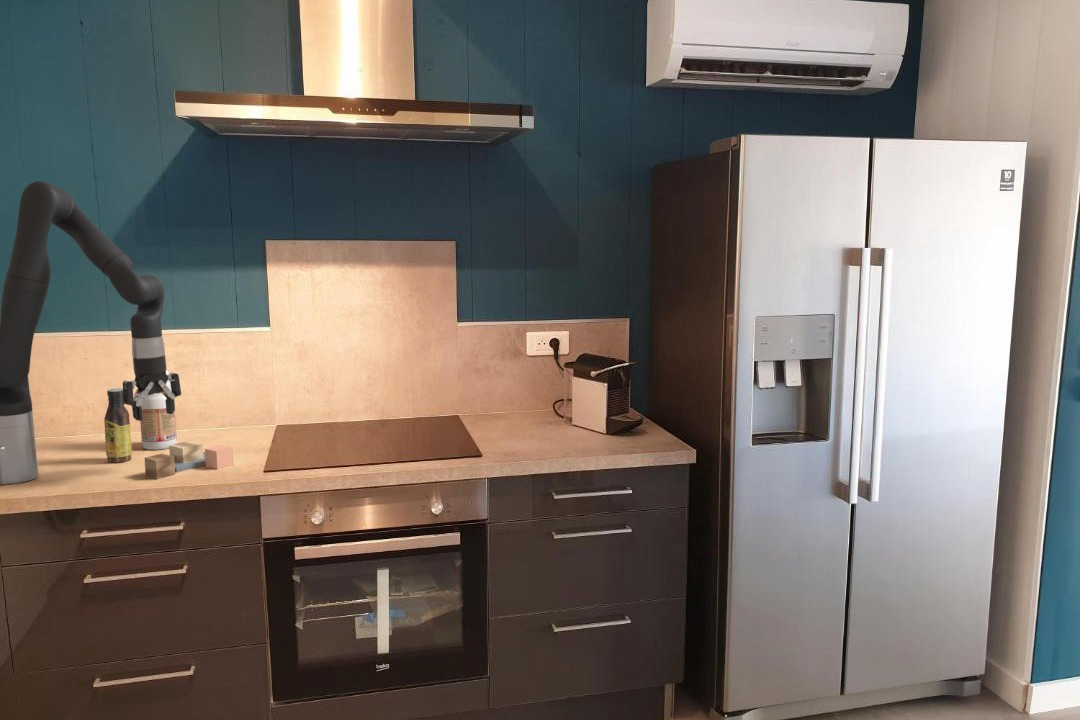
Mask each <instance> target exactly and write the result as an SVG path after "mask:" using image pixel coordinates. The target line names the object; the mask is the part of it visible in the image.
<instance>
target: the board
mask: <svg viewBox="0 0 1080 720" xmlns="http://www.w3.org/2000/svg"><path fill="white" fill-rule="evenodd" d="M174 465H175V473H179V472H183V471H187V470H191V469H195V468H198V467H202V466H206V462H205V451H203V458H202V459H198V460H194V461H190V462H187V463H181V462H177V461H174Z"/></svg>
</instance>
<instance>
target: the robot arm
mask: <svg viewBox="0 0 1080 720" xmlns="http://www.w3.org/2000/svg"><path fill="white" fill-rule="evenodd" d="M52 224H53V225H54V226H56V228H57V227H58V228H59V229H61V230H62V231H63V232H65V233H66V234H67V235H68V236H69V237H70V238H72V240H74V241H75V243H76V244H77V245H78V247H79V248H80V250H81V251H82V252H83V254H84V255H85V257H86V258H87V259H88V260H89V261H90V263H91V264H93V265H94V266H95V267H96V268H97V269H98V270H99V271H100V272H101V273H103V274H104V276H106V277H107V279H108V280H109V281H110V283H111V285H112V286H113V287H114V289H115V290H116V292H117V293H118V295H119V296H120V297H121V298H122V299H123V300H124V301H126V302H127V303H129V304H131V305H134V306H136V305H137V311H136V313H135V314H133V315H132V316H131V317H130V320H129V321H130V322H129V323H130V332H131V355H132V365H133V366H132V367H133V374H134V376H135V377H134V380H123V381H122V389H123V402H124V405H128V406H131V410H132V417H133V419H134V420H135V421H138V422H140V421H141V420H142V419H143V418H142V408H141V406H140V405H141V403H142V401H143V399H145V398H146V396H147V395H152V394H154V393H162V394H163V395H164V396H165V397H166V398H167V399H166V400H165V402H166V412H167V414H173V413H174V411H175V412H176V403H174V401H175V398H177V397H180V396H181V395H182V391H181V390H182V389H181V388H182V387H181V382H180V375H179V374H178V373H175V372H169V375H167V374H166V370H167V371H168V369H166V368H167V360H166V349H165V343H164V337H163V330H162V320H161V318H162V314H163V308H164V300H165V291H164V286H163V283H162V281H161V280H160V279H159V278H158V277H157V276H155V275H152V274H145V275H137V273H135V271H134V270H133V268H134V263H133V261H132V260H131V258H130V257H129V256H128V255H127V254H126V253H125V252H124V251H122V249H120V248H119V246H117V245H116V244H115V243H114V242H112V240H111V239H110V238H109V237H107V236H106V235H105V234H103V232H102V231H101V230H99V228H98V227H97V226H96V225H95V224H94V223H93V222H92V221H91V220H90V219H89V218H88V216H87V215H86V214H85V213H84V211H83V210H82V209H81V208H80V206H79V205H78V204H77V202H76V201H75V199H73V198H72V196H71V194H69V193H68V192H67V191H66V190H65V189H63V188H61V187H60V186H56V185H54V184H52V183H49V182H47V181H42V180H36V181H33V182H30V183H29V184H28V185H27V186H26V187H25V188H24V189H23V191H22V194H21V196H20V200H19V206H18V216H17V226H16V233H15V237H14V241H13V246H12V251H11V254H10V255H11V256H10V260H9V264H8V269H7V270H6V274H5V279H4V283H3V289H2V293H1V303H0V484H1V485H3V486H4V485H9V484H11V485H12V484H19V483H24V482H28V481H32V480H35V479H37V478H38V477H39V466H38V465H39V464H38V456H37V445H36V436H35V425H34V424H35V423H34V413H33V403H32V402H33V401H32V398H31V397H32V396H31V391H30V383H29V381H30V380H29V373H30V369H31V368H30V367H31V358H32V357H31V355H32V348H33V342H34V335H35V333H36V328H37V326H38V323H39V321H40V318H41V315H42V312H43V308H44V305H45V302H46V299H47V295H48V290H49V286H50V282H51V264H50V259H49V251H48V238H49V237H48V236H49V232H50V228H51V225H52ZM168 380H169V382H170V385H171V390H170V389H169V388H168V387H167V386H166V383H167V381H168ZM135 387H136V391H135V392H134V389H135ZM141 392H142V393H141Z"/></svg>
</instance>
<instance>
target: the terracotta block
mask: <svg viewBox="0 0 1080 720" xmlns="http://www.w3.org/2000/svg"><path fill="white" fill-rule="evenodd" d="M204 452H205V462H206V465H205V467H207V468H209V469H213V470H217V471H218V470H222V469H226V468H228V467H233V466H234V449H233V447H231V446H227V445H223V444H219V445H215V446H210V447H207V448H206V447H205V448H204Z"/></svg>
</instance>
